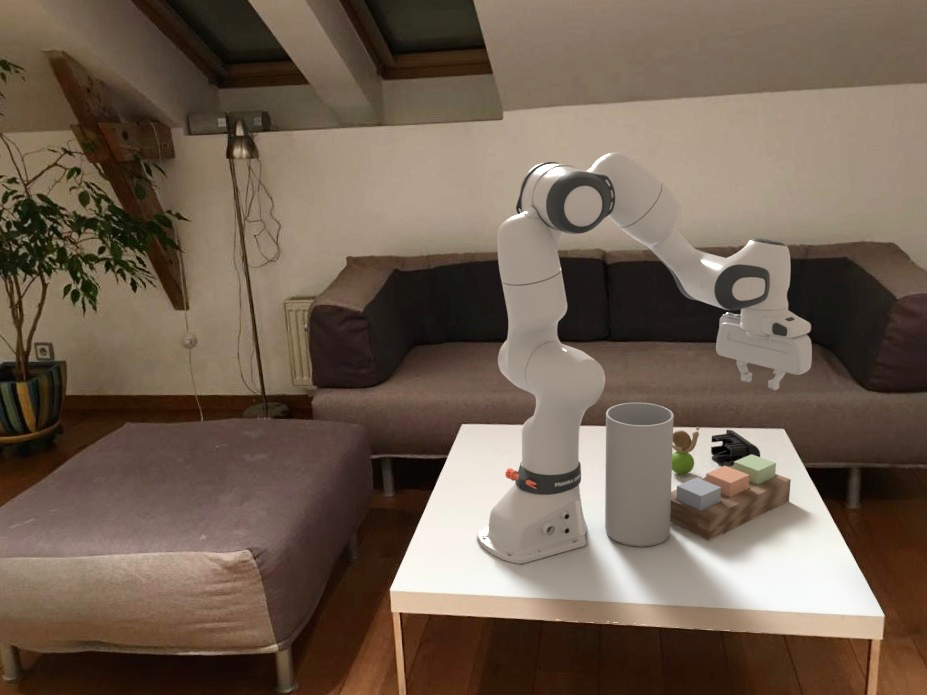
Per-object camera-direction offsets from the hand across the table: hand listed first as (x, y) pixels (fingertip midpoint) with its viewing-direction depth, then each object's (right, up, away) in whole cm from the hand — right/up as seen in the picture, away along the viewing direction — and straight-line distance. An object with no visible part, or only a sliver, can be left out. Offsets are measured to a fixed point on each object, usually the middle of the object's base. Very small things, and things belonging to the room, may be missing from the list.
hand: (759, 385), depth 170 cm
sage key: (+1, -20, +6) cm, 21 cm away
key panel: (-6, -26, +2) cm, 27 cm away
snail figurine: (-10, -21, +19) cm, 31 cm away
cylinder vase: (-26, -29, -6) cm, 40 cm away
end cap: (+2, -20, +23) cm, 31 cm away
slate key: (-14, -24, -4) cm, 28 cm away
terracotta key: (-6, -22, +1) cm, 23 cm away
